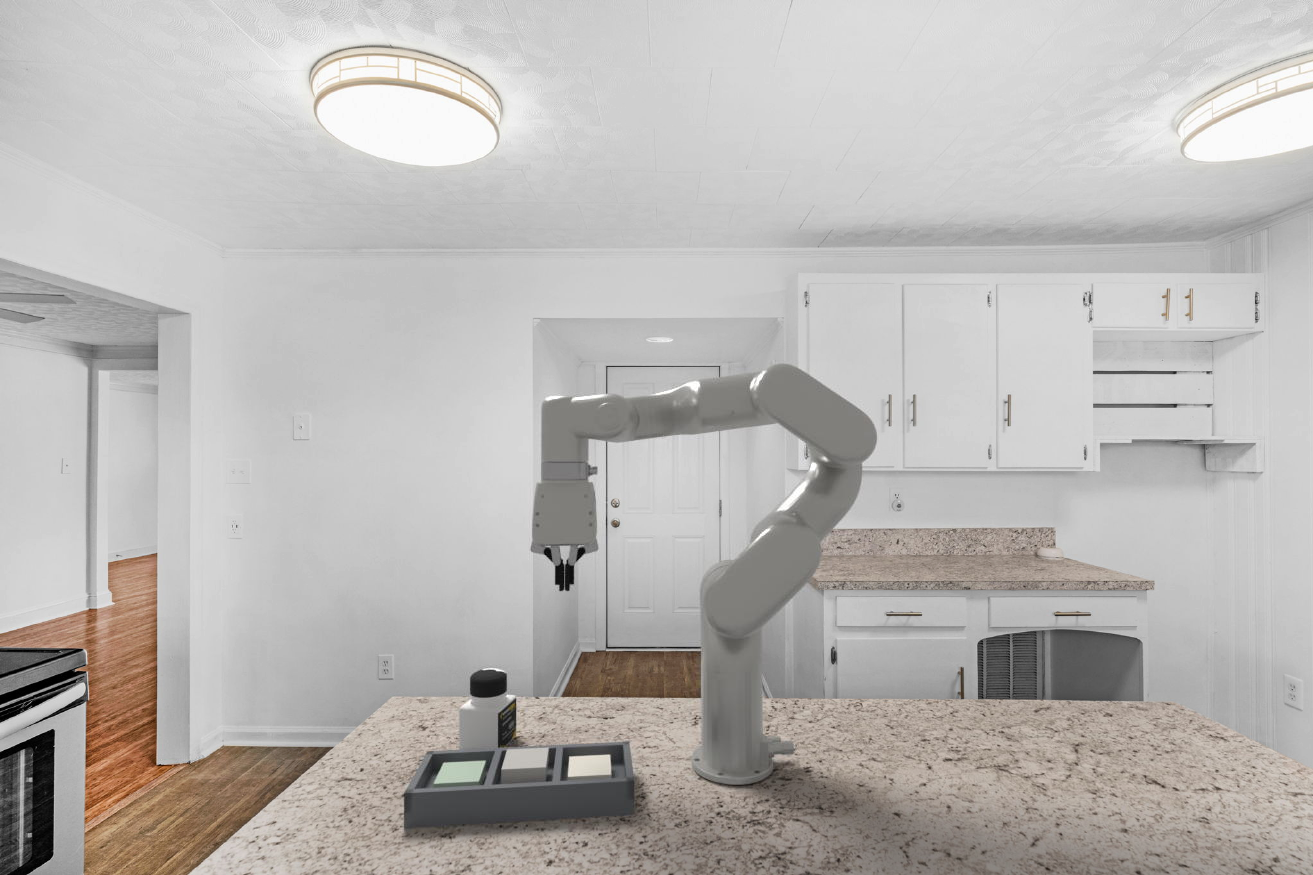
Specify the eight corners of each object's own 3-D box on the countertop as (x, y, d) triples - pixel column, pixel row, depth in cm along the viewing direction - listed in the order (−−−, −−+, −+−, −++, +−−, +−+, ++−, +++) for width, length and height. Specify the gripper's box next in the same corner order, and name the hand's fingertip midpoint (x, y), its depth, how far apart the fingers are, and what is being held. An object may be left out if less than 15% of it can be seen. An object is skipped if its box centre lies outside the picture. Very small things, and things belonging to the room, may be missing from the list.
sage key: (486, 774, 94) (486, 760, 94) (478, 796, 88) (478, 781, 88) (443, 776, 93) (443, 762, 93) (433, 798, 87) (433, 783, 87)
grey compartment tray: (629, 771, 99) (629, 741, 99) (634, 814, 87) (634, 780, 87) (427, 781, 96) (427, 751, 96) (403, 828, 84) (404, 793, 84)
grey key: (548, 761, 94) (548, 747, 95) (545, 781, 88) (545, 767, 89) (507, 763, 94) (507, 749, 94) (501, 784, 88) (501, 769, 88)
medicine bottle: (498, 755, 104) (499, 680, 104) (458, 751, 105) (458, 677, 106) (517, 736, 111) (517, 666, 111) (478, 733, 112) (478, 663, 113)
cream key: (610, 768, 95) (610, 754, 95) (611, 789, 89) (611, 774, 89) (569, 770, 95) (569, 756, 95) (567, 791, 89) (567, 776, 89)
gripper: (611, 472, 107) (611, 583, 107) (519, 473, 106) (519, 585, 105) (612, 474, 100) (612, 593, 99) (514, 474, 98) (513, 595, 98)
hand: (564, 589), depth 102 cm, fingers closed
